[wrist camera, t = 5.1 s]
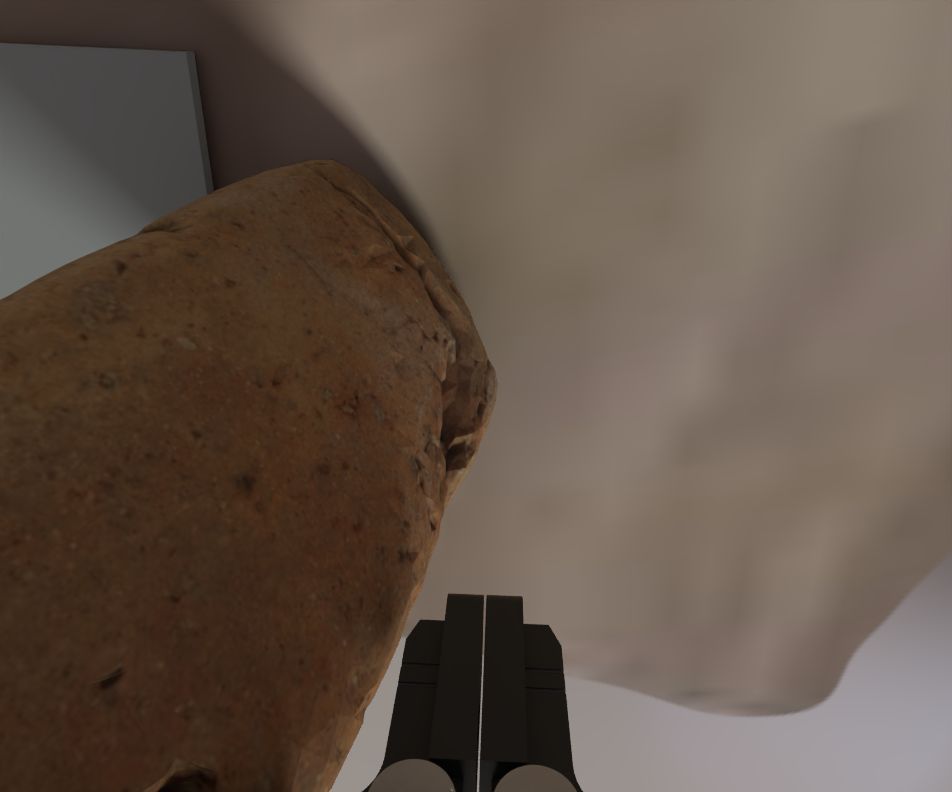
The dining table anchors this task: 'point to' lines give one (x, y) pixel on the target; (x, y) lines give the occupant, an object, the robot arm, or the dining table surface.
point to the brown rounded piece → (224, 486)
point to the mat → (92, 150)
